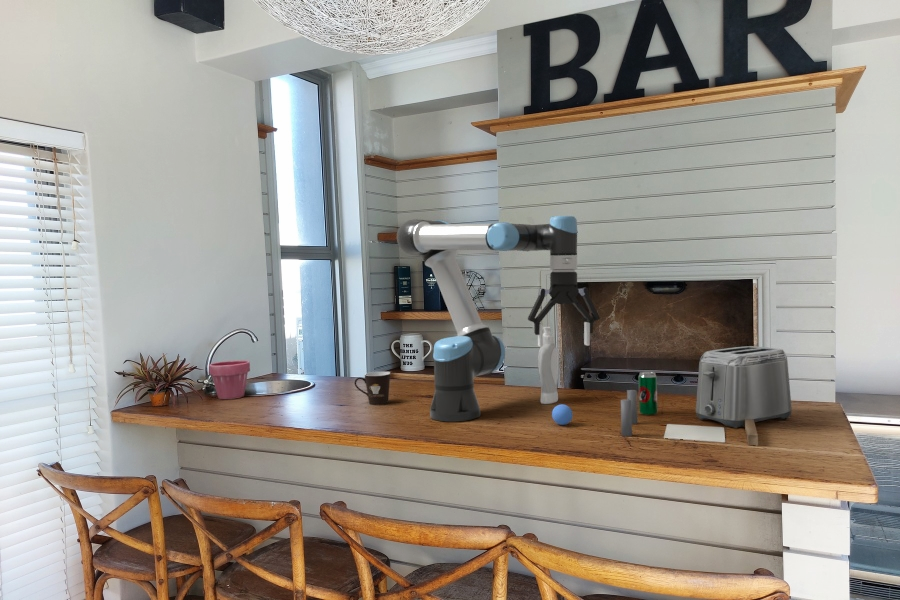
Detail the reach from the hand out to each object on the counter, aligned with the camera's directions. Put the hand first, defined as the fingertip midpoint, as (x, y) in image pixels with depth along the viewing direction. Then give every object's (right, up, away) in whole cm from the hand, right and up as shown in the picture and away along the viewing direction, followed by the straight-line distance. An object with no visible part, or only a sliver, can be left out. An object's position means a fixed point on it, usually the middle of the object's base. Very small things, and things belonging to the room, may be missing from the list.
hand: (563, 345), depth 175 cm
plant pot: (-114, -23, +53) cm, 127 cm away
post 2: (+18, -21, -6) cm, 28 cm away
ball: (-1, -19, -5) cm, 19 cm away
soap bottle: (-1, -20, +26) cm, 33 cm away
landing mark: (+30, -21, -18) cm, 41 cm away
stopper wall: (+42, -21, -23) cm, 52 cm away
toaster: (+50, -20, -5) cm, 54 cm away
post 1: (+13, -22, -18) cm, 31 cm away
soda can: (+26, -20, +4) cm, 33 cm away
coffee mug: (-58, -22, +33) cm, 70 cm away
